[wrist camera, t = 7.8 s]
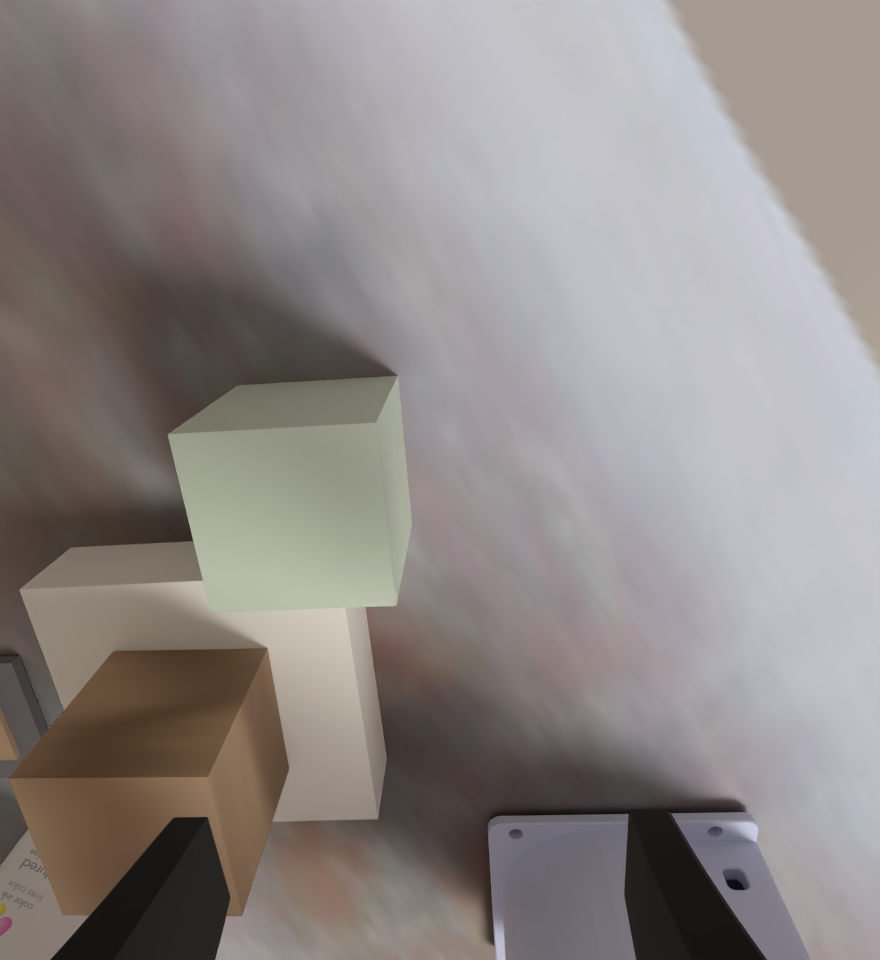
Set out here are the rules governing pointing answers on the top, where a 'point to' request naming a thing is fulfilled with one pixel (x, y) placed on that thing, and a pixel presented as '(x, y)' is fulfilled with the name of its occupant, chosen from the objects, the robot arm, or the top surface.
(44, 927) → the ink cartridge box
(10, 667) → the tile
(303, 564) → the sage block
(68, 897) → the walnut block
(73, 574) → the base block
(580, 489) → the top surface
